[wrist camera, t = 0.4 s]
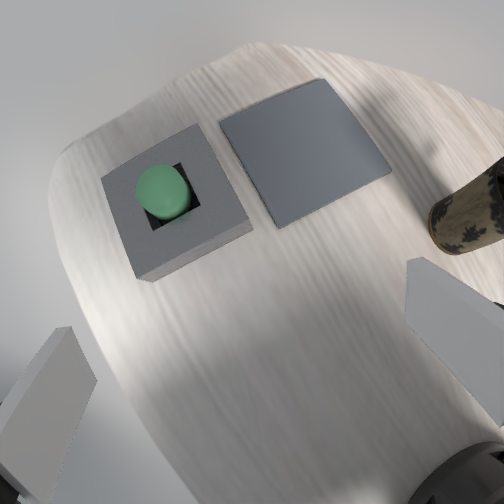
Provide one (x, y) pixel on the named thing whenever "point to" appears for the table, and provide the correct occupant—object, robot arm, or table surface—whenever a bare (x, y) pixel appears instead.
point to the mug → (471, 214)
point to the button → (163, 192)
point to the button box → (186, 226)
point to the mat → (304, 150)
